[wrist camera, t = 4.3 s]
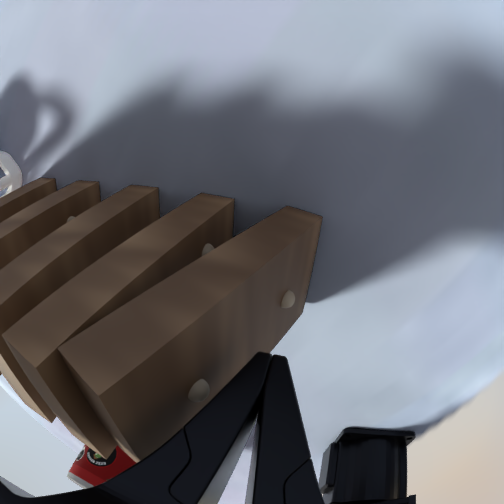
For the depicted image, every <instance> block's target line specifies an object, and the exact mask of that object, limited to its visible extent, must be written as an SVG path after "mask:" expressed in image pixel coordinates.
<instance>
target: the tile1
mask: <svg viewBox="0 0 504 504" xmlns="http://www.w3.org/2000/svg"><path fill="white" fill-rule="evenodd" d="M322 218H323V217H322V216H319V215H316V214H313V213H309V212H306V211H303V210H300V209H297V208H293V207H290V206H286V207H284V208H282V209H281V210H279V211H277V212H276V213H274V214H272V215H270V216H269V217H267V218H265V219H264V220H262V221H260V222H259V223H257V224H255V225H254V226H252V227H250V228H248V229H247V230H245V231H243V232H242V233H240V234H238V235H237V236H235V237H233V238H232V239H230V240H228V241H227V242H225V243H223V244H222V245H220V246H218V247H217V248H215V249H213V250H212V251H210V252H209V253H207V254H205V255H204V256H202V257H200V258H199V259H197V260H195V261H194V262H192V263H190V264H189V265H187V266H186V267H184V268H182V269H181V270H179V271H177V272H176V273H174V274H173V275H171V276H169V277H168V278H166V279H165V280H163V281H161V282H160V283H158V284H156V285H155V286H153V287H152V288H150V289H148V290H147V291H145V292H144V293H142V294H140V295H139V296H137V297H136V298H134V299H132V300H131V301H129V302H128V303H126V304H125V305H123V306H121V307H120V308H118V309H117V310H115V311H114V312H112V313H110V314H109V315H107V316H106V317H104V318H103V319H101V320H99V321H98V322H96V323H95V324H93V325H92V326H90V327H89V328H87V329H85V330H84V331H82V332H81V333H79V334H78V335H76V336H75V337H73V338H72V339H70V340H69V341H67V342H65V343H64V344H62V345H61V346H59V347H58V350H59V352H60V354H61V356H62V358H63V360H64V362H65V364H66V366H67V368H68V369H69V371H70V373H71V375H72V377H73V378H74V380H75V382H76V384H77V385H78V387H79V389H80V390H81V392H82V394H83V395H84V397H85V399H86V400H87V402H88V403H89V405H90V406H91V408H92V410H93V411H94V413H95V414H96V416H97V417H98V419H99V420H100V422H101V423H102V424H103V426H104V427H105V429H106V430H107V432H108V433H109V434H110V436H111V437H112V438H113V440H114V441H115V442H116V444H117V445H118V446H119V447H120V448H121V449H122V450H123V451H124V452H125V453H126V454H127V455H128V456H129V457H131V458H132V459H133V460H134V461H135V462H136V463H137V462H139V461H140V460H142V459H144V458H145V457H146V456H148V455H149V454H151V453H152V452H154V451H155V450H156V449H158V448H159V447H160V446H161V445H163V444H164V443H165V442H166V441H167V440H169V439H170V438H171V437H172V436H173V435H174V434H175V433H177V432H178V431H179V430H180V429H181V428H183V426H184V425H185V424H186V423H187V422H188V421H190V420H191V419H192V418H193V417H194V416H195V415H196V414H197V413H198V412H199V411H200V410H201V409H202V408H203V407H204V406H205V405H206V404H207V403H208V402H209V401H210V400H211V399H212V398H213V397H214V396H215V395H216V394H217V393H218V392H219V391H220V390H221V389H222V388H223V387H224V386H225V385H226V384H227V383H228V382H229V381H230V380H231V379H232V378H233V377H234V376H235V375H236V374H237V373H238V372H239V371H240V370H241V369H242V368H243V367H244V366H245V365H246V364H247V363H248V362H249V360H250V359H251V358H252V357H253V356H254V355H255V354H256V353H257V352H259V351H261V352H266V353H270V352H271V351H272V350H273V348H274V347H275V346H276V345H277V344H278V342H279V341H280V340H281V339H282V338H283V336H284V335H285V334H286V333H287V332H288V330H289V329H290V328H291V327H292V325H293V324H294V323H295V322H296V320H297V319H298V318H299V317H300V315H301V314H302V313H303V309H304V305H305V300H306V296H307V291H308V287H309V282H310V278H311V273H312V269H313V264H314V259H315V254H316V249H317V244H318V239H319V234H320V229H321V223H322ZM183 429H184V428H183Z"/></svg>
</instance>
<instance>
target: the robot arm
mask: <svg viewBox="0 0 504 504" xmlns="http://www.w3.org/2000/svg"><path fill="white" fill-rule="evenodd" d="M257 415H258V416H257ZM256 419H257V421H256ZM255 421H256V427H255V435H254V442H253V450H252V457H251V464H250V471H249V478H248V485H247V492H246V499H245V504H416V495H410V496H409V497H407V445H408V444H409V443H410V442H412V441H413V440H414V439H415V432H397V431H378V430H364V429H353V428H347V429H344V430H343V431H342V432H341V434H340V435H339V436H338V438H337V439H336V440H335V442H333V443H331V444H330V446H329V447H328V448H327V450H326V451H325V452H324V453H323V459H322V466H321V472H320V478H319V484H318V481H317V478H316V474H315V471H314V466H313V462H312V459H310V458H311V454H310V450H309V446H308V442H307V438H306V434H305V429H304V425H303V421H302V417H301V413H300V409H299V405H298V400H297V396H296V392H295V388H294V384H293V380H292V376H291V372H290V368H289V364H288V360H287V358H286V357H285V356H280V355H273V356H272V354H270V353H266V352H261V351H259V352H257V353H256V354H255V355H254V356H253V357H252V358H251V359H250V360H249V362H248V363H247V364H246V365H245V366H244V367H243V368H242V369H241V370H240V371H239V372H238V373H237V374H236V375H235V376H234V377H233V378H232V379H231V380H230V381H229V382H228V383H227V384H226V385H225V386H224V387H223V388H222V389H221V390H220V391H219V392H218V393H217V394H216V395H215V396H214V397H213V398H212V399H211V400H210V401H209V402H208V403H207V404H206V405H205V406H204V407H203V408H202V409H201V410H200V411H199V412H198V413H197V414H196V415H195V416H194V417H193V418H192V419H191V420H190V421H188V422H187V423H186V424H185V425H184V426H183V428H184V429H183V428H181V429H180V430H179V431H178V432H177V433H175V434H174V435H173V436H172V437H171V438H170V439H169V440H167V441H166V442H165V443H164V444H163V445H161V446H160V447H159V448H158V449H156V450H155V451H154V452H152V453H151V454H149V455H148V456H146V457H145V458H144V459H142V460H140V461H139V462H137V463H136V464H134V465H133V466H131V467H129V468H128V469H126V470H125V471H123V472H121V473H120V474H118V475H116V476H115V477H113V478H111V479H109V480H108V481H106V482H104V483H101V484H99V485H96V486H94V487H90V488H86V489H82V490H77V491H72V492H66V493H61V494H55V495H48V496H41V497H35V496H33V495H31V494H29V493H27V492H26V491H24V490H22V489H20V488H19V487H17V486H15V485H14V484H12V483H11V482H9V481H7V480H6V479H4V478H2V477H1V476H0V504H217V503H218V502H219V500H220V498H221V496H222V493H223V491H224V489H225V487H226V485H227V483H228V481H229V479H230V477H231V475H232V473H233V471H234V469H235V466H236V464H237V462H238V460H239V458H240V456H241V454H242V451H243V449H244V447H245V445H246V442H247V440H248V438H249V436H250V433H251V431H252V429H253V427H254V424H255ZM321 493H322V494H323V497H322V494H321Z"/></svg>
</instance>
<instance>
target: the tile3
mask: <svg viewBox="0 0 504 504" xmlns="http://www.w3.org/2000/svg"><path fill="white" fill-rule="evenodd" d="M158 219H160V210H159V190H158V187H148V186H139V185H130V186H128V187H126V188H124V189H122V190H121V191H119V192H117V193H115V194H113V195H112V196H110V197H108V198H107V199H105V200H103V201H101V202H100V203H98V204H96V205H95V206H93V207H91V208H90V209H88V210H86V211H85V212H83V213H82V214H80V215H78V216H77V217H75V218H74V219H72V220H70V221H69V222H67V223H66V224H64V225H63V226H61V227H60V228H58V229H57V230H55V231H54V232H52V233H51V234H49V235H48V236H46V237H45V238H43V239H42V240H40V241H39V242H37V243H36V244H35V245H33V246H32V247H30V248H29V249H28V250H26V251H25V252H24V253H22V254H21V255H19V256H18V257H17V258H15V259H14V260H13V261H11V262H10V263H9V264H7V265H6V266H5V267H4V268H2V269H1V270H0V371H1V373H2V374H3V376H4V377H5V378H6V380H7V381H8V383H9V384H10V385H11V387H12V388H13V389H14V391H15V392H16V393H17V394H18V396H19V397H20V398H21V399H22V401H23V402H24V403H25V404H26V405H27V406H29V407H30V408H31V409H32V410H34V411H35V412H37V413H38V414H39V415H41V416H42V417H43V418H45V419H46V420H48V421H49V422H51V423H52V422H53V421H54V419H55V418H56V415H55V413H54V412H53V411H52V410H51V408H50V407H49V406H48V405H47V403H46V402H45V401H44V399H43V398H42V397H41V395H40V394H39V393H38V391H37V390H36V388H35V387H34V386H33V384H32V383H31V381H30V380H29V378H28V377H27V375H26V374H25V372H24V371H23V369H22V368H21V366H20V365H19V363H18V361H17V360H16V358H15V357H14V355H13V353H12V352H11V350H10V348H9V347H8V345H7V343H6V341H5V340H4V338H3V336H2V334H3V333H4V332H6V331H7V330H8V329H9V328H10V327H11V326H13V325H14V324H15V323H16V322H17V321H19V320H20V319H21V318H22V317H23V316H25V315H26V314H27V313H28V312H30V311H31V310H32V309H33V308H35V307H36V306H37V305H38V304H40V303H41V302H42V301H43V300H45V299H46V298H47V297H48V296H50V295H51V294H52V293H54V292H55V291H56V290H58V289H59V288H60V287H62V286H63V285H64V284H65V283H67V282H68V281H69V280H71V279H72V278H74V277H75V276H76V275H78V274H79V273H80V272H82V271H83V270H84V269H86V268H87V267H89V266H90V265H91V264H93V263H94V262H96V261H97V260H98V259H100V258H101V257H103V256H104V255H106V254H107V253H108V252H110V251H111V250H113V249H114V248H116V247H117V246H119V245H120V244H122V243H123V242H124V241H126V240H127V239H129V238H130V237H132V236H133V235H135V234H136V233H138V232H139V231H141V230H143V229H144V228H146V227H147V226H149V225H150V224H152V223H153V222H155V221H156V220H158Z"/></svg>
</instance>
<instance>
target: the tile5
mask: <svg viewBox="0 0 504 504" xmlns="http://www.w3.org/2000/svg"><path fill="white" fill-rule="evenodd" d="M56 191H57V189H56V182H55V179H53V178H39V179H37V180H35V181H33V182H31V183H28V184H26V185H24V186H22V187H20V188H18V189H16V190H14V191H12V192H10V193H9V194H7V195H5V196H3V197H1V198H0V223H1V222H3V221H4V220H6V219H8V218H9V217H11V216H13V215H14V214H16V213H18V212H19V211H21V210H23V209H25V208H26V207H28V206H30V205H32V204H33V203H35V202H37V201H39V200H41V199H43V198H44V197H46V196H48V195H50V194H52V193H54V192H56Z"/></svg>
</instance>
